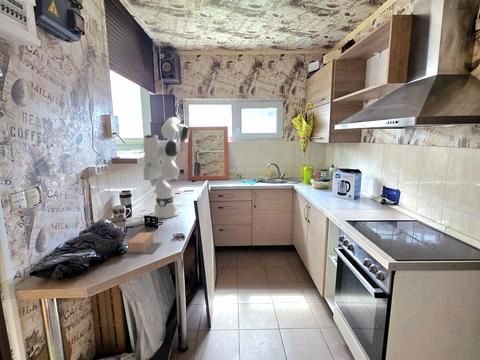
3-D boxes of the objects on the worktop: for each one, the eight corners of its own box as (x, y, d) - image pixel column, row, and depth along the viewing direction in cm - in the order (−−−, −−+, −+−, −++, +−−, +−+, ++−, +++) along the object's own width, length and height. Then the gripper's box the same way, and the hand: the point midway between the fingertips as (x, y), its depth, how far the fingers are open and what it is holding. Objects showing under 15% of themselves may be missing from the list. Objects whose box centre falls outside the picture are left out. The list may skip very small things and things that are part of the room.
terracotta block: (139, 232, 143) (127, 242, 130) (153, 232, 143) (143, 242, 129) (139, 241, 144) (128, 252, 130) (153, 241, 144) (143, 252, 130)
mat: (129, 243, 143) (129, 242, 143) (162, 243, 142) (162, 242, 142) (116, 253, 129) (116, 253, 129) (152, 253, 128) (152, 253, 128)
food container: (122, 232, 161) (121, 216, 159) (127, 234, 157) (126, 218, 155) (101, 237, 151) (100, 221, 150) (106, 240, 148) (104, 223, 146)
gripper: (151, 163, 143) (152, 188, 145) (163, 161, 163) (164, 182, 165) (139, 164, 143) (141, 188, 145) (153, 161, 163) (154, 183, 165)
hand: (153, 185), depth 155 cm, fingers closed
